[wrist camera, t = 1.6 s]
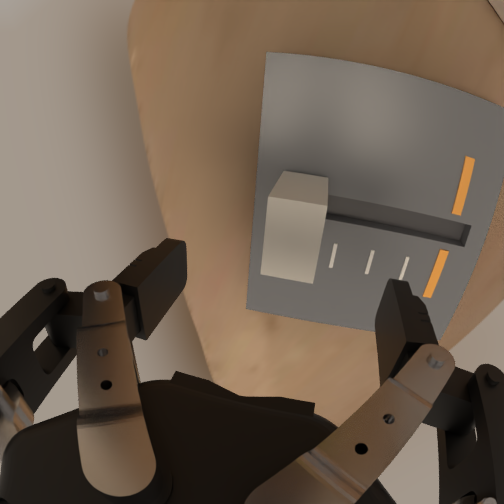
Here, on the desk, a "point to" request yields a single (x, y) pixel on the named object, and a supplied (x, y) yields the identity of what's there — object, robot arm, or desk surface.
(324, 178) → the fader tab
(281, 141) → the fader console
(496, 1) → the jar
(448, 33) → the desk surface
